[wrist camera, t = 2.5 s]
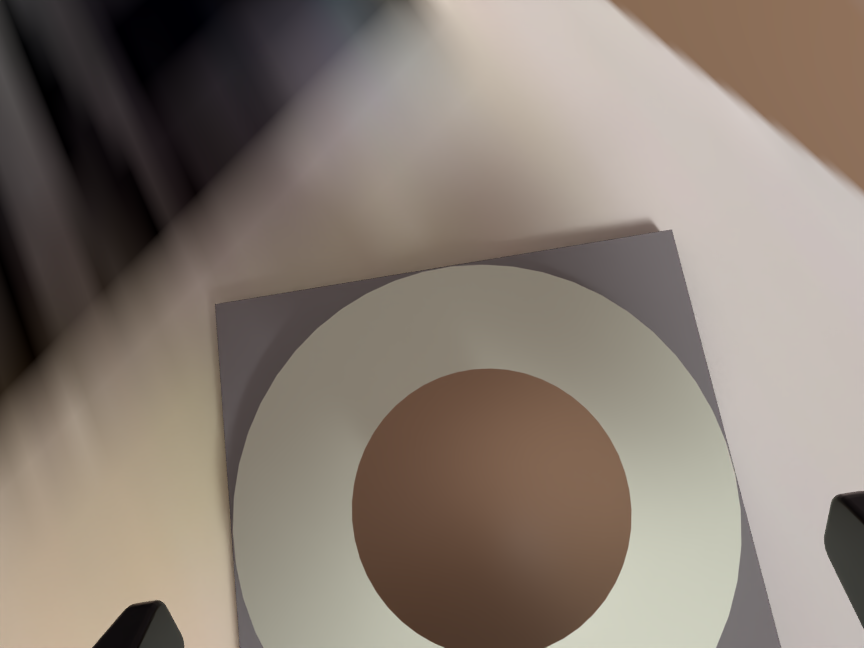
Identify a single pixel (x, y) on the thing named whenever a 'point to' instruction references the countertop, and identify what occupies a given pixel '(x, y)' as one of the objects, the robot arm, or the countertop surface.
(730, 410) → the countertop surface
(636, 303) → the mat
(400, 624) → the lid
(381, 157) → the countertop surface
